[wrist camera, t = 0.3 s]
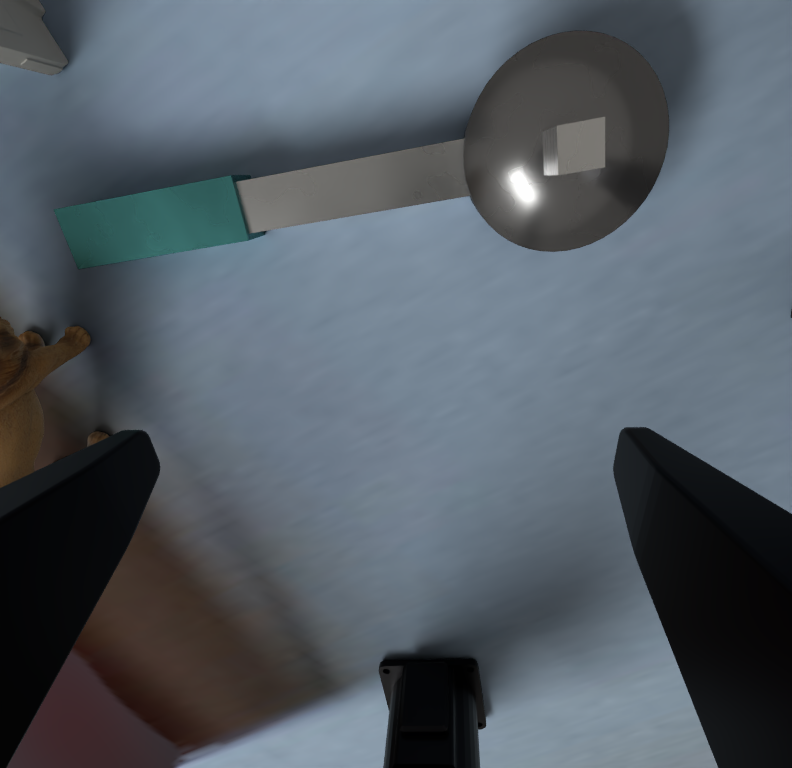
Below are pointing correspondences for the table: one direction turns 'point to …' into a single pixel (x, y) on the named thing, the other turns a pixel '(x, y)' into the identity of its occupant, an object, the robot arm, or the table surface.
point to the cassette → (28, 38)
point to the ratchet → (440, 167)
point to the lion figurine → (29, 394)
